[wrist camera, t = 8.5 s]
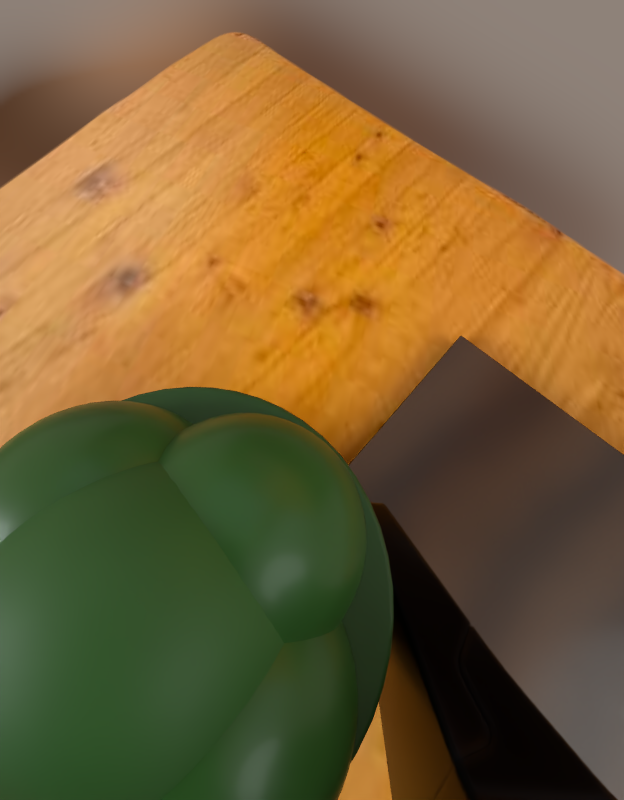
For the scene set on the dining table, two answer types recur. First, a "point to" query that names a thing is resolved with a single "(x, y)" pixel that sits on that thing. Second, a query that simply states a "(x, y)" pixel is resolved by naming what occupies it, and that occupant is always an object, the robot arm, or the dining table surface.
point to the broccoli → (186, 604)
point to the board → (517, 536)
